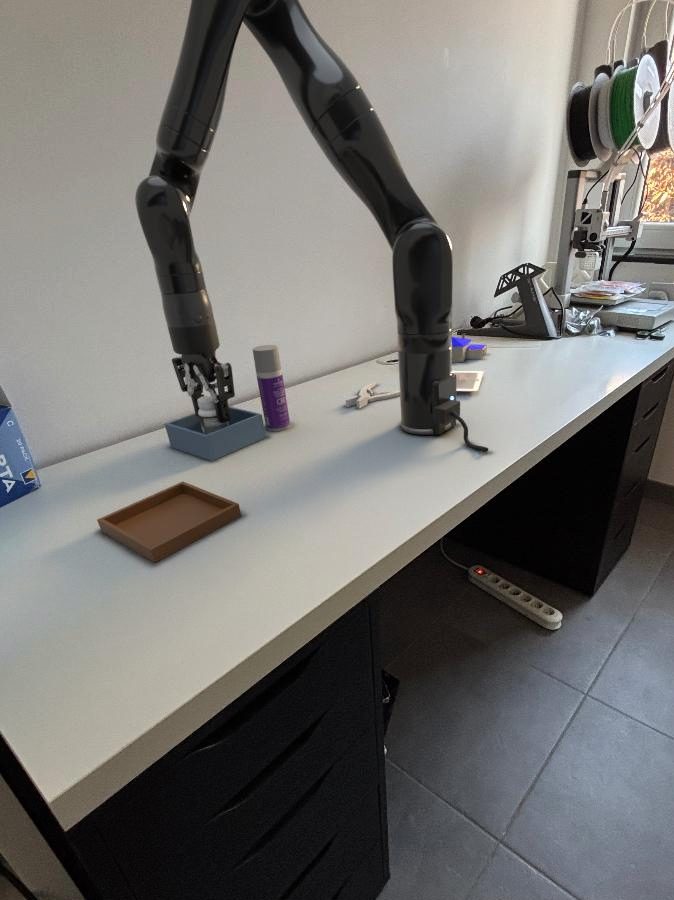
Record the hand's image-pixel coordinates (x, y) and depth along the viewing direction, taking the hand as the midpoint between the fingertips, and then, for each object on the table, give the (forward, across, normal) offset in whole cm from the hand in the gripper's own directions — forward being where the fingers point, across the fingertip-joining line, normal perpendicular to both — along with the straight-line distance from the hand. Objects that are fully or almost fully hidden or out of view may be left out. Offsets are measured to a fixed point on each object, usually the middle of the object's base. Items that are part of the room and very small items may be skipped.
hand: (213, 418), depth 95 cm
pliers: (+5, -9, -34) cm, 35 cm away
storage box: (+5, 0, 0) cm, 5 cm away
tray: (+5, -19, +22) cm, 29 cm away
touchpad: (+5, -22, -50) cm, 55 cm away
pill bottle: (+5, 0, 0) cm, 5 cm away
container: (+5, -4, -11) cm, 13 cm away
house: (+5, -7, -70) cm, 71 cm away
